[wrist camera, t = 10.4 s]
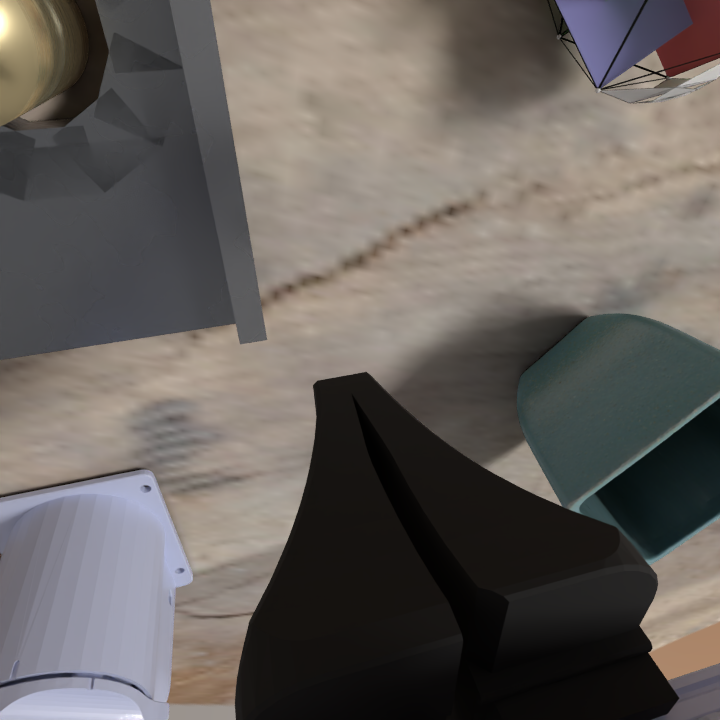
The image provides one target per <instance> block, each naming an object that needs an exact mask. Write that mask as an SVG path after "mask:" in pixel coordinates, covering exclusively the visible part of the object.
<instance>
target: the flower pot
mask: <svg viewBox="0 0 720 720" xmlns="http://www.w3.org/2000/svg"><path fill="white" fill-rule="evenodd" d="M517 411H518V418H519V422H520V425H521V428H522V431H523V434H524V436H525V438H526V440H527V443H528V445H529V446H530V448H531V450H532V452H533V454H534V456H535V458H536V459H537V461H538V463H539V465H540V467H541V468H542V470H543V472H544V474H545V476H546V478H547V479H548V481H549V483H550V485H551V487H552V488H553V490H554V492H555V494H556V495H557V497H558V499H559V501H560V503H561V504H562V506H563V507H564V508H567V509H569V510H572V511H575V512H577V513H580V514H583V515H585V516H588V517H591V518H594V519H596V520H599V521H602V522H604V523H607V524H610V525H613V526H615V527H617V528H618V529H619V530H620V531H621V532H622V534H623V535H624V536H625V537H626V538H627V539H628V540H629V541H630V542H631V543H632V544H633V545H634V547H635V548H636V549H637V550H638V552H639V553H640V554H641V555H642V557H643V558H644V559H645V561H646V562H647V563H648V564H649V565H651V564H653V563H654V562H656V561H658V560H659V559H661V558H662V557H664V556H666V555H667V554H669V553H670V552H671V551H673V550H674V549H675V548H677V547H679V546H680V545H682V544H683V543H684V542H685V541H687V540H688V539H690V538H692V537H693V536H694V535H696V534H697V533H699V532H700V531H701V530H703V529H704V528H706V527H707V526H709V525H710V524H712V523H713V522H715V521H716V520H717V519H719V518H720V350H718V349H716V348H714V347H712V346H710V345H708V344H706V343H704V342H702V341H700V340H698V339H696V338H694V337H692V336H690V335H688V334H686V333H684V332H682V331H680V330H678V329H675V328H673V327H671V326H669V325H667V324H664V323H662V322H659V321H656V320H653V319H650V318H646V317H642V316H637V315H631V314H603V315H596V316H590V317H588V318H586V319H585V320H584V321H582V322H581V323H580V324H579V325H578V326H577V327H575V328H574V329H573V330H572V331H571V332H570V333H569V334H568V335H566V336H565V337H564V338H563V339H562V340H561V341H560V342H559V343H558V344H556V345H555V346H554V347H553V348H552V349H551V350H549V351H548V352H547V353H546V354H545V355H544V356H543V357H541V358H540V359H539V360H538V361H537V362H536V363H534V364H533V365H532V366H531V367H530V368H529V369H527V370H526V371H525V372H524V373H523V374H522V376H521V377H520V380H519V385H518V392H517Z"/></svg>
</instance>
